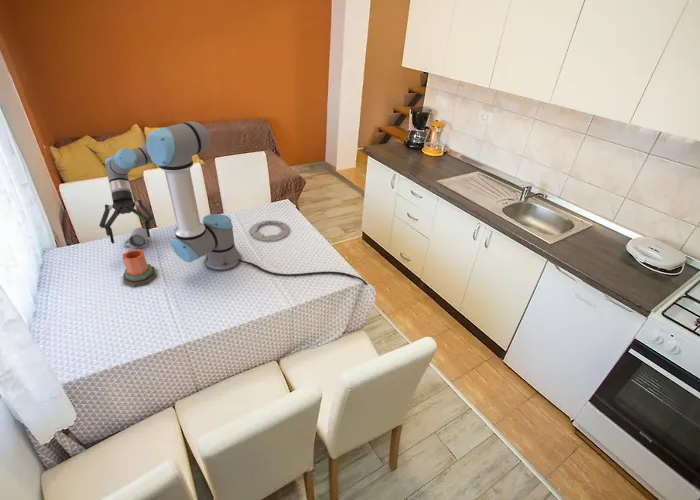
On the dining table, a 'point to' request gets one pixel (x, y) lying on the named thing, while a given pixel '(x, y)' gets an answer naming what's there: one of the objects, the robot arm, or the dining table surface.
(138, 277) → the sage ring
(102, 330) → the dining table surface
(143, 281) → the walnut ring
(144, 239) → the grey flanged cylinder
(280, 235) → the ring
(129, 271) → the orange hollow faceted cylinder
